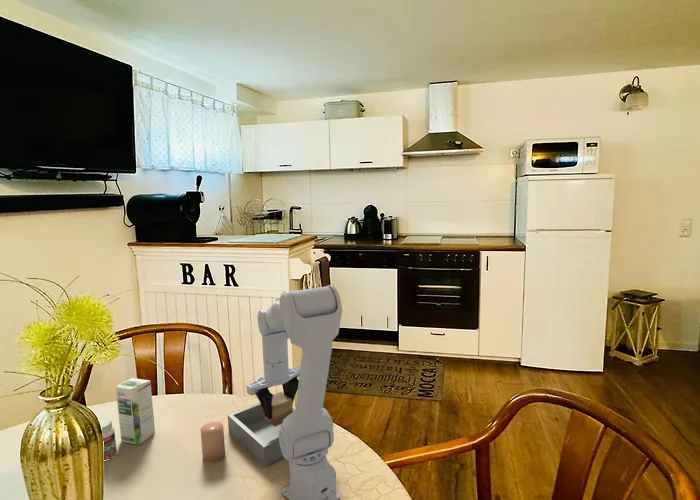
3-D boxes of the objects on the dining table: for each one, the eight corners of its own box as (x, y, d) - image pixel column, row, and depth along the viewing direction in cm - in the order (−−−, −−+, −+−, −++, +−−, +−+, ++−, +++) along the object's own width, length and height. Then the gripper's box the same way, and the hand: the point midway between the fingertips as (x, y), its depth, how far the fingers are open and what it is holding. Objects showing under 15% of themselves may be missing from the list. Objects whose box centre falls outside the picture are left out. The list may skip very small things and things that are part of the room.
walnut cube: (293, 418, 102) (292, 399, 101) (274, 426, 98) (273, 406, 98) (281, 410, 105) (280, 391, 104) (263, 418, 102) (262, 398, 101)
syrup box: (120, 442, 105) (113, 387, 103) (138, 429, 111) (132, 376, 108) (139, 445, 103) (133, 390, 101) (156, 432, 109) (151, 379, 107)
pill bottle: (106, 464, 97) (102, 430, 96) (88, 461, 98) (84, 428, 97) (121, 451, 102) (117, 418, 100) (104, 449, 102) (100, 417, 101)
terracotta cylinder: (228, 455, 99) (227, 428, 98) (208, 465, 96) (205, 436, 95) (219, 446, 103) (217, 419, 102) (199, 455, 100) (197, 427, 98)
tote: (315, 442, 104) (315, 423, 103) (264, 467, 95) (263, 447, 94) (276, 413, 117) (275, 396, 116) (228, 433, 108) (227, 414, 107)
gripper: (292, 345, 107) (294, 396, 109) (239, 362, 98) (242, 417, 100) (308, 353, 102) (310, 406, 104) (254, 372, 92) (257, 430, 94)
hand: (278, 412), depth 101 cm, fingers closed on walnut cube, 5 cm apart
